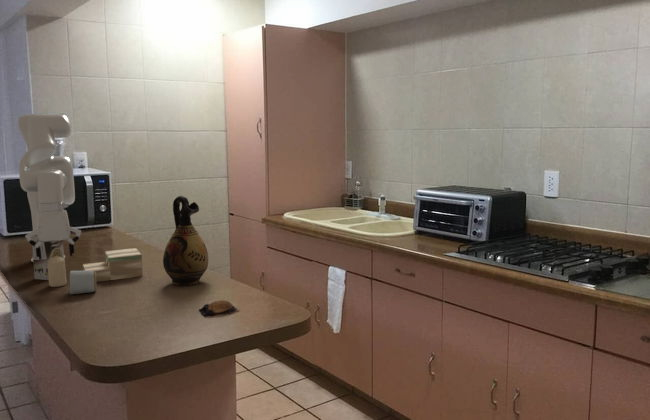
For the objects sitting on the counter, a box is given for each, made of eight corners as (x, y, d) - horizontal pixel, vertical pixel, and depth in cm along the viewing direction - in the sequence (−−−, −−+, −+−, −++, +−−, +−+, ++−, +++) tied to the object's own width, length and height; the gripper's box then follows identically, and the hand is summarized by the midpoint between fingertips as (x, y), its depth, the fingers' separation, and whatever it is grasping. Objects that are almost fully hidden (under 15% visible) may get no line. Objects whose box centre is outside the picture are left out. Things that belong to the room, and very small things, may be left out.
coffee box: (49, 280, 204) (46, 235, 201) (34, 279, 205) (30, 235, 202) (66, 273, 212) (62, 231, 210) (51, 273, 214) (47, 230, 211)
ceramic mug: (97, 294, 186) (96, 271, 185) (70, 297, 183) (68, 273, 182) (96, 286, 196) (95, 264, 195) (70, 289, 192) (69, 267, 191)
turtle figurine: (230, 306, 174) (230, 294, 173) (240, 313, 166) (240, 301, 166) (196, 311, 168) (196, 299, 168) (205, 319, 161) (205, 307, 161)
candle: (52, 282, 200) (50, 255, 198) (69, 282, 200) (66, 254, 199) (46, 287, 194) (44, 258, 193) (63, 286, 195) (61, 258, 193)
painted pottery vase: (218, 281, 199) (215, 196, 195) (180, 291, 188) (175, 201, 184) (190, 273, 211) (186, 192, 206) (153, 282, 200) (148, 197, 195)
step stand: (83, 274, 211) (82, 253, 210) (137, 268, 219) (135, 248, 218) (86, 283, 199) (84, 260, 198) (142, 276, 207) (141, 254, 206)
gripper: (78, 204, 201) (82, 252, 203) (23, 208, 193) (27, 258, 195) (80, 206, 194) (83, 256, 196) (22, 210, 186) (27, 262, 188)
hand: (55, 257), depth 195 cm, fingers open, 9 cm apart
